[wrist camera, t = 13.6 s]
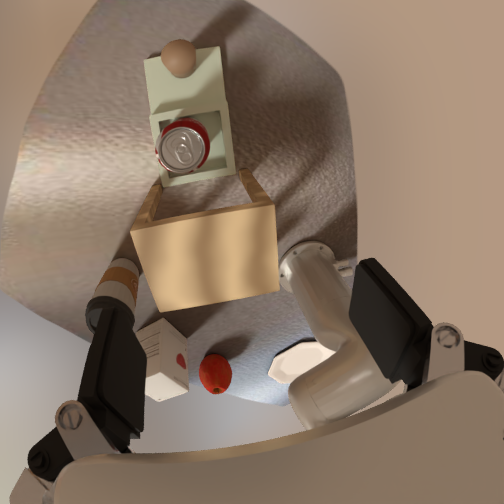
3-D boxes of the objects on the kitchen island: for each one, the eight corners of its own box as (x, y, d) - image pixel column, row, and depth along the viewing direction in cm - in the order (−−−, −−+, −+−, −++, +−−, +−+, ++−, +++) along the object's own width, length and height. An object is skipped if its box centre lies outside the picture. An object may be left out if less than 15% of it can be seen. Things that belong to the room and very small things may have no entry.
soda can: (196, 109, 37) (194, 111, 27) (215, 146, 41) (220, 161, 30) (158, 130, 38) (142, 140, 27) (177, 165, 41) (170, 187, 31)
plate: (287, 385, 81) (289, 389, 80) (255, 363, 71) (256, 367, 70) (340, 356, 78) (342, 359, 77) (318, 327, 68) (320, 331, 67)
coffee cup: (147, 287, 52) (137, 344, 39) (109, 288, 50) (91, 342, 37) (141, 251, 48) (126, 305, 35) (100, 252, 46) (76, 304, 33)
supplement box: (188, 338, 61) (190, 392, 48) (160, 351, 62) (158, 403, 49) (163, 316, 56) (160, 372, 44) (135, 331, 57) (127, 384, 44)
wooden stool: (247, 168, 44) (274, 204, 29) (254, 232, 50) (279, 290, 36) (152, 185, 42) (129, 231, 28) (168, 248, 48) (159, 312, 34)
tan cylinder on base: (219, 47, 32) (226, 29, 23) (233, 171, 43) (244, 192, 34) (145, 61, 31) (128, 47, 22) (165, 183, 42) (156, 208, 33)
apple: (213, 371, 69) (218, 404, 60) (191, 360, 65) (193, 394, 56) (235, 358, 68) (242, 391, 59) (213, 345, 63) (217, 381, 54)
